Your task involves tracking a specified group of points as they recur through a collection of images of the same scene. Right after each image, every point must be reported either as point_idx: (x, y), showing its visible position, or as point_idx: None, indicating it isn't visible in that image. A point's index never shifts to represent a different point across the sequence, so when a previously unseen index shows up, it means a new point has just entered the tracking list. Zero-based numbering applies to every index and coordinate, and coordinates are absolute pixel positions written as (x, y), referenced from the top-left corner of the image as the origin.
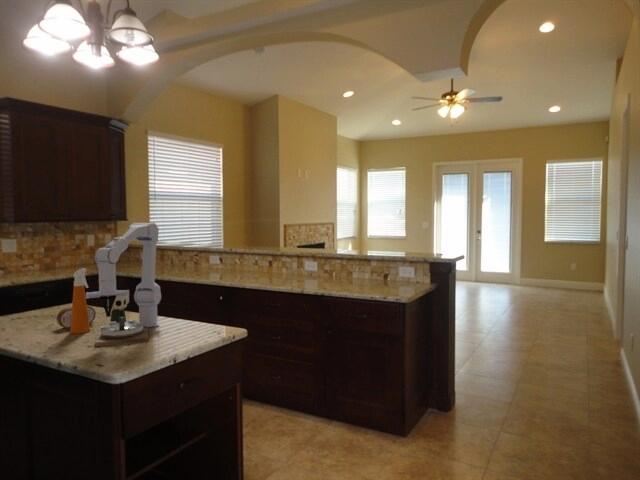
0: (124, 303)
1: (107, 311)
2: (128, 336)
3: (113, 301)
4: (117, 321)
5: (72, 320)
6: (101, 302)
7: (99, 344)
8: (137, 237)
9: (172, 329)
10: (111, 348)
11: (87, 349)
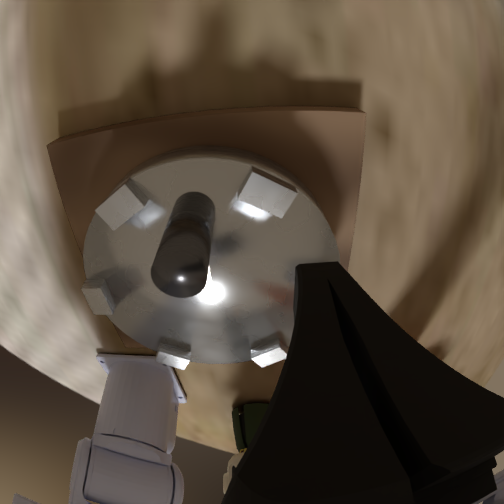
0: (234, 470)
1: (345, 300)
2: (153, 158)
3: (268, 450)
4: (258, 409)
5: None
6: (491, 393)
7: (336, 108)
8: None
9: (31, 304)
10: (256, 30)
11: (393, 71)
